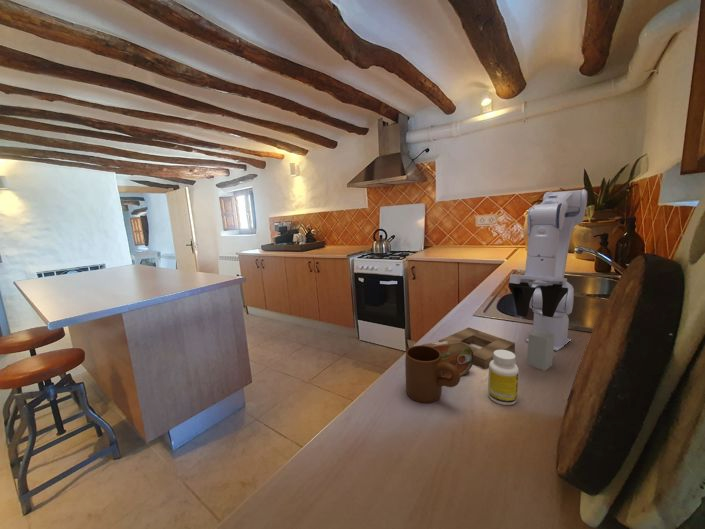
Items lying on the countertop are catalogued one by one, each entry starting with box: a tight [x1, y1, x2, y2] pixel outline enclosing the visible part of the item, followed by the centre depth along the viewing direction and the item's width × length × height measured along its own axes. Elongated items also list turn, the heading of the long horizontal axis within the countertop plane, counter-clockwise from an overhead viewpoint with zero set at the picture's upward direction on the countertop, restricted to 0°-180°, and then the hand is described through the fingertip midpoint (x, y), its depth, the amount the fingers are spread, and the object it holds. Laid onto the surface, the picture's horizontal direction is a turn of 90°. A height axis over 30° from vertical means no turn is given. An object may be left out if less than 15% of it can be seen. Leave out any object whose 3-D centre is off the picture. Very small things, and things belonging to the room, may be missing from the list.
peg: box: [526, 330, 555, 372], centre depth 71 cm, size 4×4×8 cm
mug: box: [404, 344, 461, 404], centre depth 61 cm, size 12×8×9 cm, turn 43°
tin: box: [422, 340, 474, 379], centre depth 68 cm, size 15×3×8 cm, turn 99°
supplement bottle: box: [487, 350, 520, 406], centre depth 59 cm, size 5×5×10 cm
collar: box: [438, 327, 516, 370], centre depth 80 cm, size 14×14×2 cm
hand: (534, 316), depth 66 cm, fingers open, 7 cm apart
